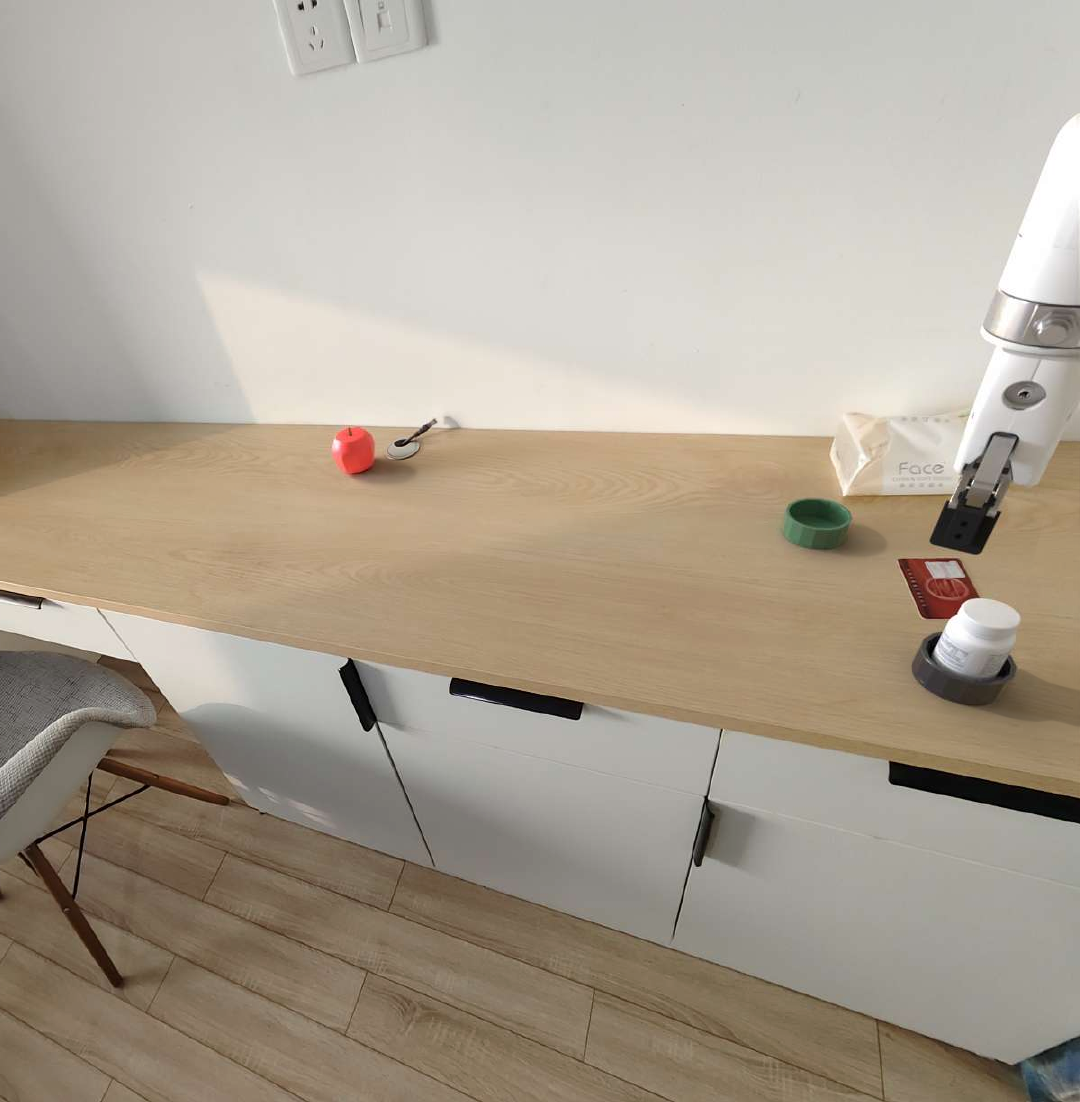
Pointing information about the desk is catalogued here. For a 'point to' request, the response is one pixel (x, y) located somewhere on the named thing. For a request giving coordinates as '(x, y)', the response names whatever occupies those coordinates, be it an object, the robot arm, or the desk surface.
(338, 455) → the apple
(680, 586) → the desk surface
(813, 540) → the green round container
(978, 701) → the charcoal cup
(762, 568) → the desk surface
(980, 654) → the pill bottle
